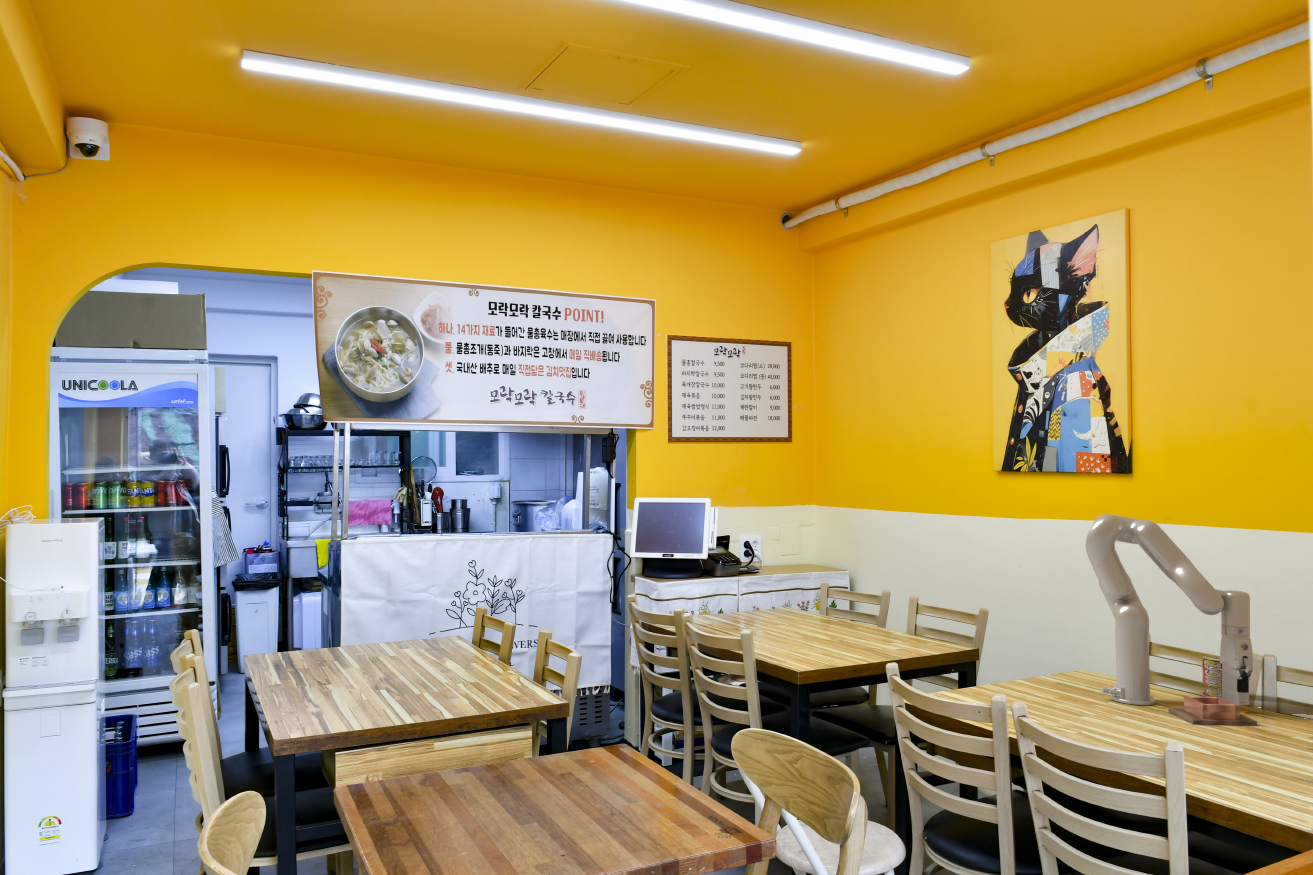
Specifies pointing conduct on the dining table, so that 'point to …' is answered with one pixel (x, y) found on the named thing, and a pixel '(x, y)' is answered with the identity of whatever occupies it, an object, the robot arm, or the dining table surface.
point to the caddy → (1211, 712)
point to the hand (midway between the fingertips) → (1235, 688)
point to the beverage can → (1212, 675)
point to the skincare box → (1232, 686)
